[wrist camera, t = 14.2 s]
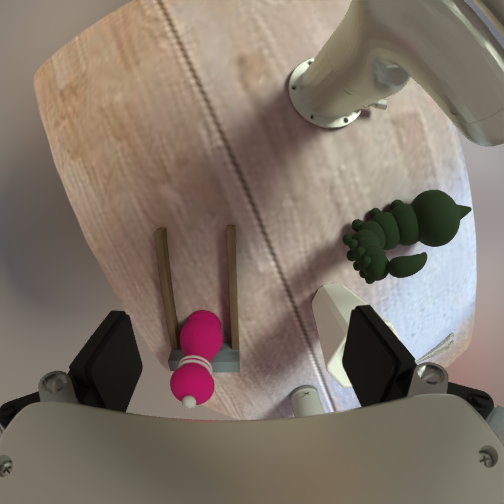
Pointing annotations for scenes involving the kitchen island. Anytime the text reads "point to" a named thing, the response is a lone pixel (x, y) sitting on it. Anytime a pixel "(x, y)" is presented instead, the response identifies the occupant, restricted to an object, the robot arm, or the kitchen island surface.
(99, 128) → the kitchen island surface
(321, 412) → the travel mug
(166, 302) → the guide channel
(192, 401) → the pepper mill
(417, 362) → the tweezers
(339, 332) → the cup
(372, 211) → the toy figurine
